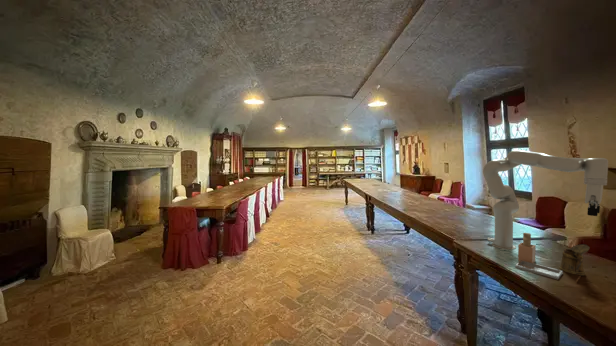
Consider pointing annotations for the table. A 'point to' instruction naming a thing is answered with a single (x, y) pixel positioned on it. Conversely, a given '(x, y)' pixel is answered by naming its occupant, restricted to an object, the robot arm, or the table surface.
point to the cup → (526, 253)
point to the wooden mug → (574, 259)
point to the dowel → (527, 239)
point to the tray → (539, 269)
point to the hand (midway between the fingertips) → (593, 214)
